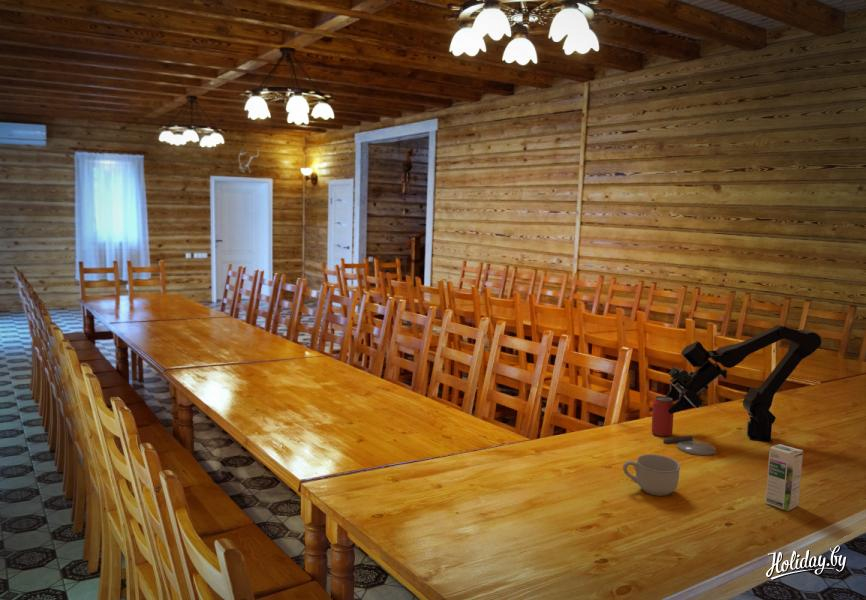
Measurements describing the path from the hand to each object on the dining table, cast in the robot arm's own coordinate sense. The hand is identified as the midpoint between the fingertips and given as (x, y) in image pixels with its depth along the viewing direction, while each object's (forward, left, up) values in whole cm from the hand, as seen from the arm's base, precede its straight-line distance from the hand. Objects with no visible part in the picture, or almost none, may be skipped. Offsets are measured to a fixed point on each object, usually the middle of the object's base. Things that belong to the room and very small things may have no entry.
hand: (665, 408), depth 217 cm
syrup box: (-27, +48, -9) cm, 56 cm away
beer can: (+1, 0, -9) cm, 9 cm away
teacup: (+4, +50, -9) cm, 51 cm away
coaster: (-9, +12, -8) cm, 17 cm away
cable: (-4, +6, -9) cm, 12 cm away
